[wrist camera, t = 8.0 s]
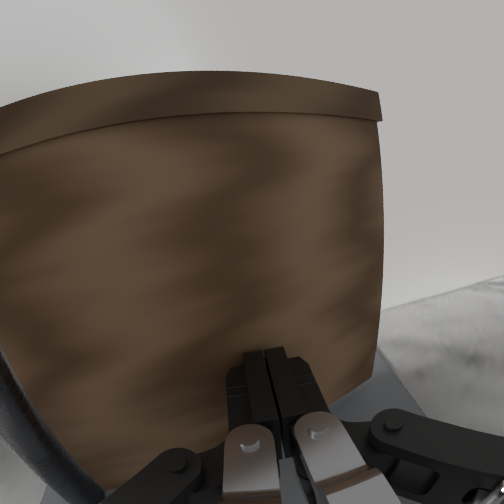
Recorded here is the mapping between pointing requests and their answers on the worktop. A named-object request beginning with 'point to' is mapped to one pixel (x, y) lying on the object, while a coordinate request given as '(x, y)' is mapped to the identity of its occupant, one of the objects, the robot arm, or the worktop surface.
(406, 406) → the mat
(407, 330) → the worktop surface
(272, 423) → the robot arm
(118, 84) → the gate
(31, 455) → the hinge post
